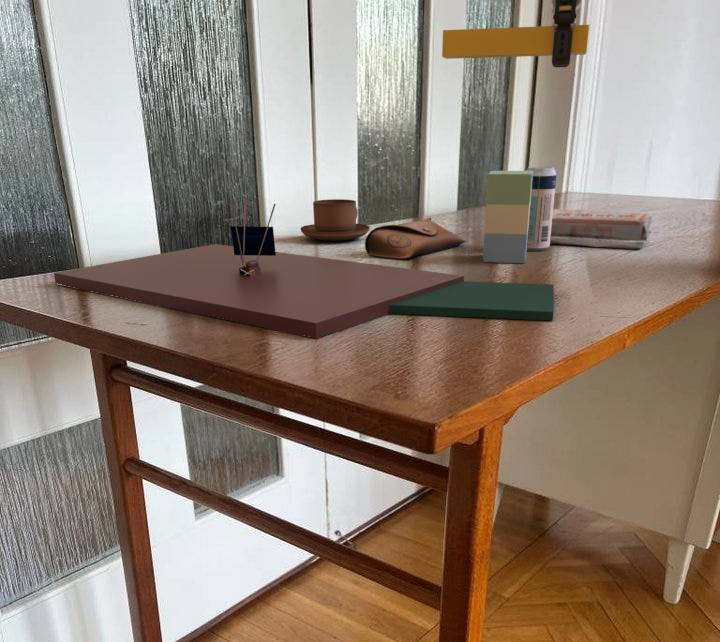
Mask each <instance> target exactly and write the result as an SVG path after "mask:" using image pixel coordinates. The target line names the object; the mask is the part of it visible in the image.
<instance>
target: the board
mask: <svg viewBox="0 0 720 642" xmlns="http://www.w3.org/2000/svg"><path fill="white" fill-rule="evenodd" d="M243 200H244V202H243V203H244V204H243V226H240V225H239V226H238V225H237V220H236V215H235V211H234V210H235V209H234V204H233V199H230V200H229V202H230V207H231V212H232V217H233V223H234V226H233V225H232V226H231V225H230V234H231V241H232V242H231V243H232V245H227V244H226V245H225V244H219V243H218V244H217V243H214V244H208V245H201V246H197V247H191V248H185V249H180V250H175V251H174V250H173V251H169V252H162V253H158V254H157V253H156V254H151V255H145V256H140V257H134V258H130V259H123V260H118V261H112V262H107V263H101V264H96V265H91V266H90V265H89V266H84V267H78V268H74V269H68V270H61V271H57V272H53V277H54V283H55V284H56V283H58V284H62V285H66V286H70V287H75V288H79V289H83V290H87V291H86V292H88V291H93V292H98V293H102V294H107V295H113V296H118V297H122V298H127V299H131V300H136V301H141V302H145V303H144V304H146V303H149V304H148V305H151V304H154V305H153V306H156V305H159V306H158V307H160V306H163V307H162V308H165V307H168V308H167V309H170V308H173V309H172V310H175V309H177V310H176V311H180V310H182V311H181V312H185V311H186V312H185V313H191V314H194V313H195V315H199V314H202V315H201V316H204V315H207V316H206V317H209V316H213V317H212V318H214V317H219V318H224V319H227V320H226V321H228V320H230V321H229V322H233V321H235V322H234V323H238V322H240V323H239V324H243V323H245V324H244V325H248V324H250V325H249V326H252V325H254V327H257V326H259V327H258V328H262V327H264V328H263V329H267V330H271V331H276V332H281V331H282V333H287V334H291V333H292V335H296V334H299V335H298V336H301V335H305V336H304V337H306V336H310V337H314V338H313V339H315V338H317V339H320V338H322V336H323V337H326V336H329V335H332V334H334V332H335V333H338V332H340V331H343V330H346V329H349V328H351V327H355V326H358V325H361V324H365V323H366V322H370V321H372V320H376V319H378V318H382V317H384V316H387V315H391V314H390V305H391V304H394V303H397V302H400V301H403V300H406V299H409V298H412V297H415V296H418V295H421V294H424V293H427V292H430V291H434V290H437V289H440V288H443V287H446V286H449V285H452V284H455V283H458V282H461V281H465V275H459V274H452V273H444V272H438V271H429V270H421V269H414V268H412V269H411V268H406V267H398V266H389V265H381V264H373V263H366V262H358V261H350V260H343V259H336V258H327V257H319V256H312V255H311V256H310V255H304V254H296V253H288V252H281V251H276V243H275V234H274V233H275V232H274V226H270V223H271V221H272V218H273V214H274V211H275V207H276V203H273V205H272V208H271V209H272V210H271V212H270V216H269V219H268V222H267V226H246V216H247V215H246V213H247V211H246V209H247V198H244V199H243ZM83 290H82V291H83ZM93 292H92V293H93ZM98 293H97V294H98ZM102 294H101V295H102ZM107 295H106V296H107ZM122 298H121V299H122ZM127 299H126V300H127ZM131 300H130V301H131ZM136 301H135V302H136ZM141 302H140V303H141ZM219 318H218V319H219ZM331 333H332V334H331ZM328 334H329V335H328ZM325 335H326V336H325ZM310 337H309V338H310ZM319 337H320V338H319Z"/></svg>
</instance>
